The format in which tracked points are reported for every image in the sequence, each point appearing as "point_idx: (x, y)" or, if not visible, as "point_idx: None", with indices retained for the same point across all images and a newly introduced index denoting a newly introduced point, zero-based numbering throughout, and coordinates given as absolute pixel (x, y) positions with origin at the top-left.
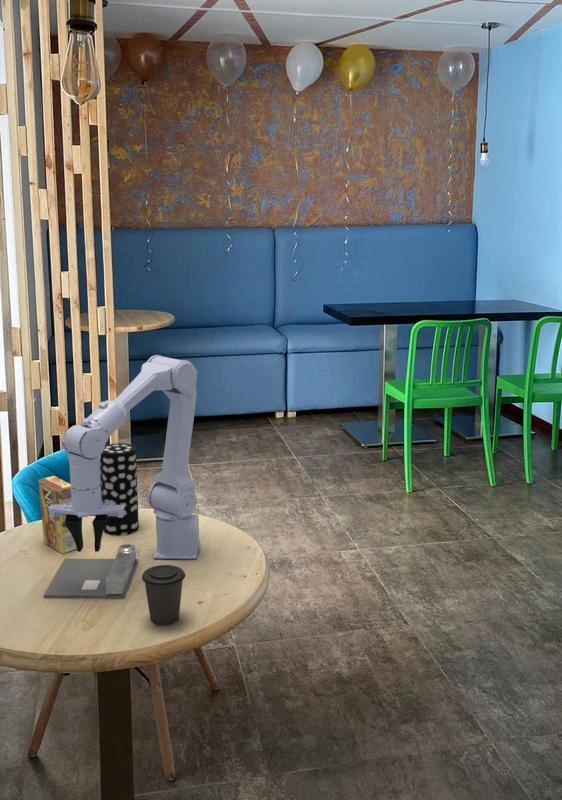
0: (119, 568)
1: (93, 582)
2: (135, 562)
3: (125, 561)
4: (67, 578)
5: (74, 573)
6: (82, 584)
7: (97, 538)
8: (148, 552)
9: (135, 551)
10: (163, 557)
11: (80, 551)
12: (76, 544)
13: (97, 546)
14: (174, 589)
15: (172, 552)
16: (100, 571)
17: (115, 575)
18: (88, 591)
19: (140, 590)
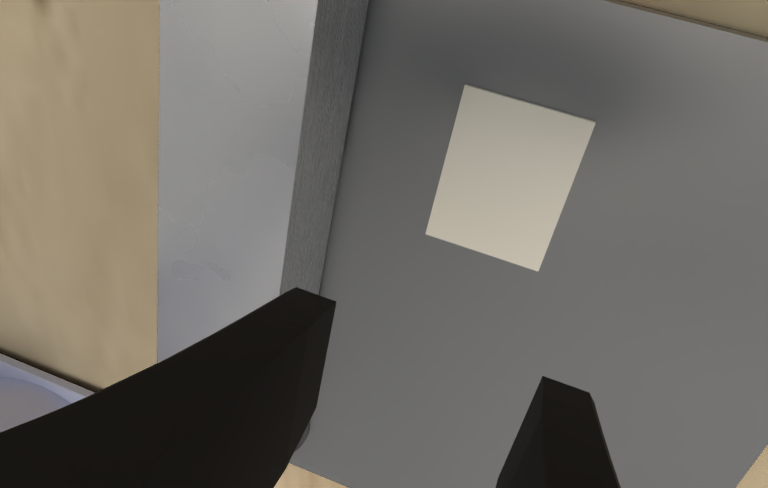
0: (216, 196)
1: (479, 217)
2: None
3: (185, 304)
4: (680, 353)
5: (610, 405)
6: (572, 216)
7: (143, 405)
8: None
9: None
10: (78, 392)
11: (548, 379)
12: (607, 479)
13: (251, 320)
14: None
15: (17, 399)
16: (420, 365)
17: (234, 54)
18: (534, 67)
19: (150, 29)
